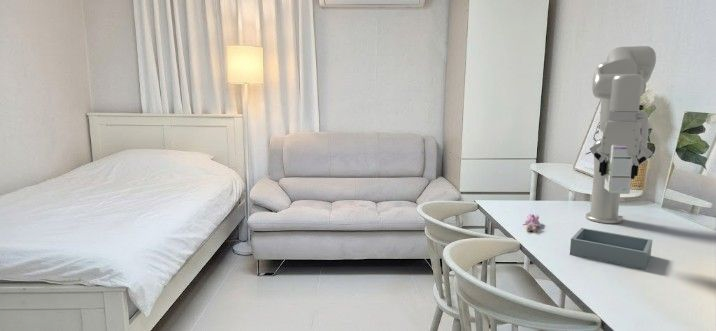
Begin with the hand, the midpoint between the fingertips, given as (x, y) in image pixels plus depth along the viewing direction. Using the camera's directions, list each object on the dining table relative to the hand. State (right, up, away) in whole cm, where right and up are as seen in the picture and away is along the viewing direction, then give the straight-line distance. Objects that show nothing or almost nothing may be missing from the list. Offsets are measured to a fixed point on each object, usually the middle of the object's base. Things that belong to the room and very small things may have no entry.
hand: (617, 176), depth 139 cm
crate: (0, -24, +4) cm, 25 cm away
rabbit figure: (-14, -20, +32) cm, 40 cm away
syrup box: (0, -5, +1) cm, 5 cm away
